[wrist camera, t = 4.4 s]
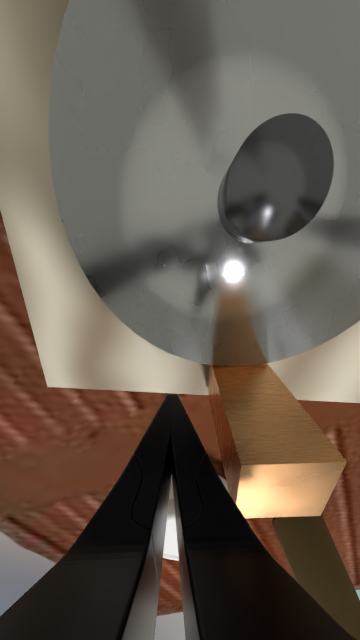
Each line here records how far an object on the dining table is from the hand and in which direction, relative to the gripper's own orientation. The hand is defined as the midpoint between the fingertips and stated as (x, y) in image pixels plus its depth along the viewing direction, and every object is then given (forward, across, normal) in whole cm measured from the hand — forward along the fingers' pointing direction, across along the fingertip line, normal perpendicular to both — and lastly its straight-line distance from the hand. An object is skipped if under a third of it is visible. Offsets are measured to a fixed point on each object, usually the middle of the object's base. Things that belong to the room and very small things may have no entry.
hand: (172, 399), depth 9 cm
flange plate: (+2, -3, -8) cm, 9 cm away
